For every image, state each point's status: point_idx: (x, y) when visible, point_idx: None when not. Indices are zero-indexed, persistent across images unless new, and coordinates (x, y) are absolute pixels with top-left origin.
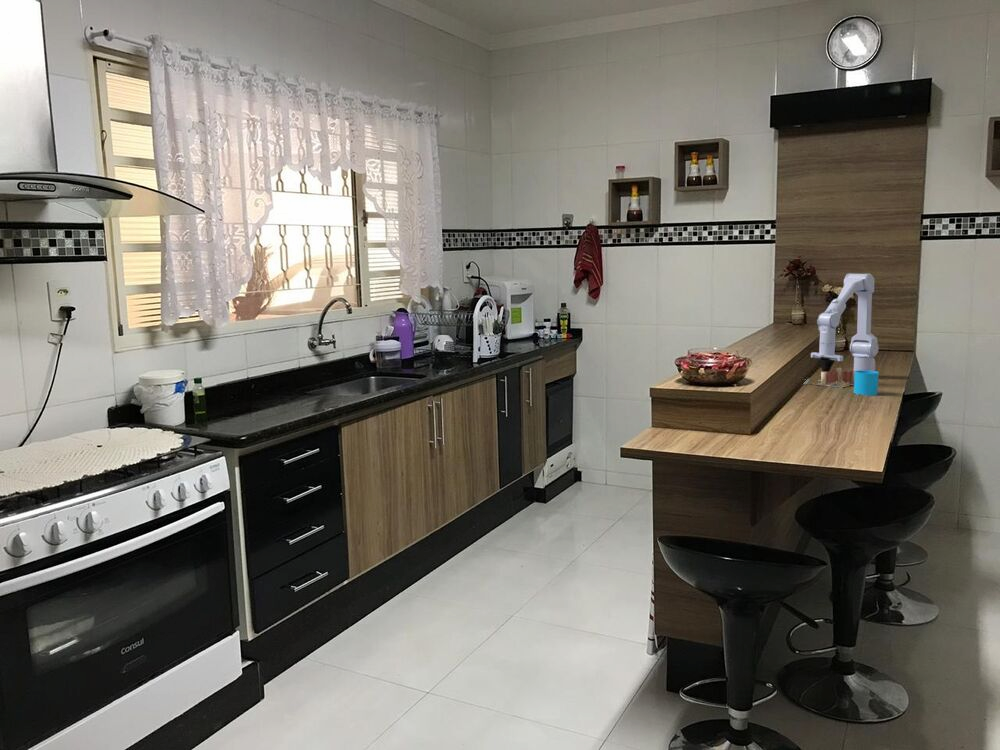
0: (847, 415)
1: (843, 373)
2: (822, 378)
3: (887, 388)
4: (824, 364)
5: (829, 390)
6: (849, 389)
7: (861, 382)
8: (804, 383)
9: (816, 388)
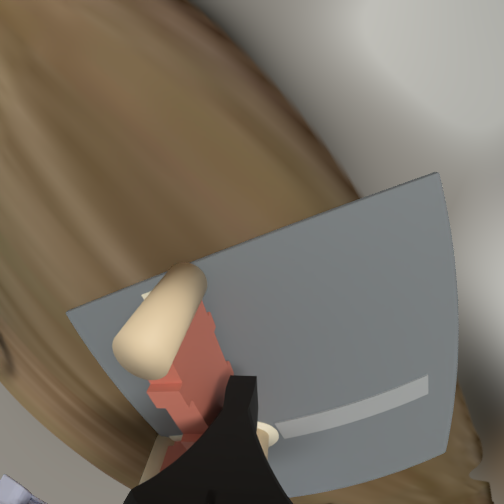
0: None
1: None
2: (153, 292)
3: (61, 428)
4: (170, 476)
5: (27, 166)
6: (36, 306)
7: None
8: (352, 207)
9: (111, 131)
